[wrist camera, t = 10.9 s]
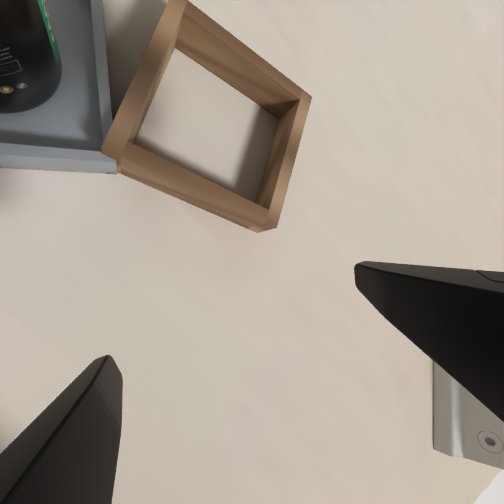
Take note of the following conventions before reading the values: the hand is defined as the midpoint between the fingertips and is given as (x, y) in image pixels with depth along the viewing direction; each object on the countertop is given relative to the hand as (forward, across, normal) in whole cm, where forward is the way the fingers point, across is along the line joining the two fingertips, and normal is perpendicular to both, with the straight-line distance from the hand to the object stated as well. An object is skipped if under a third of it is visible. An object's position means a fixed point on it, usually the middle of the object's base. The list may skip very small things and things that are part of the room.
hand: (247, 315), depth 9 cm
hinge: (+11, -25, +28) cm, 39 cm away
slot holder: (+15, -3, -7) cm, 17 cm away
